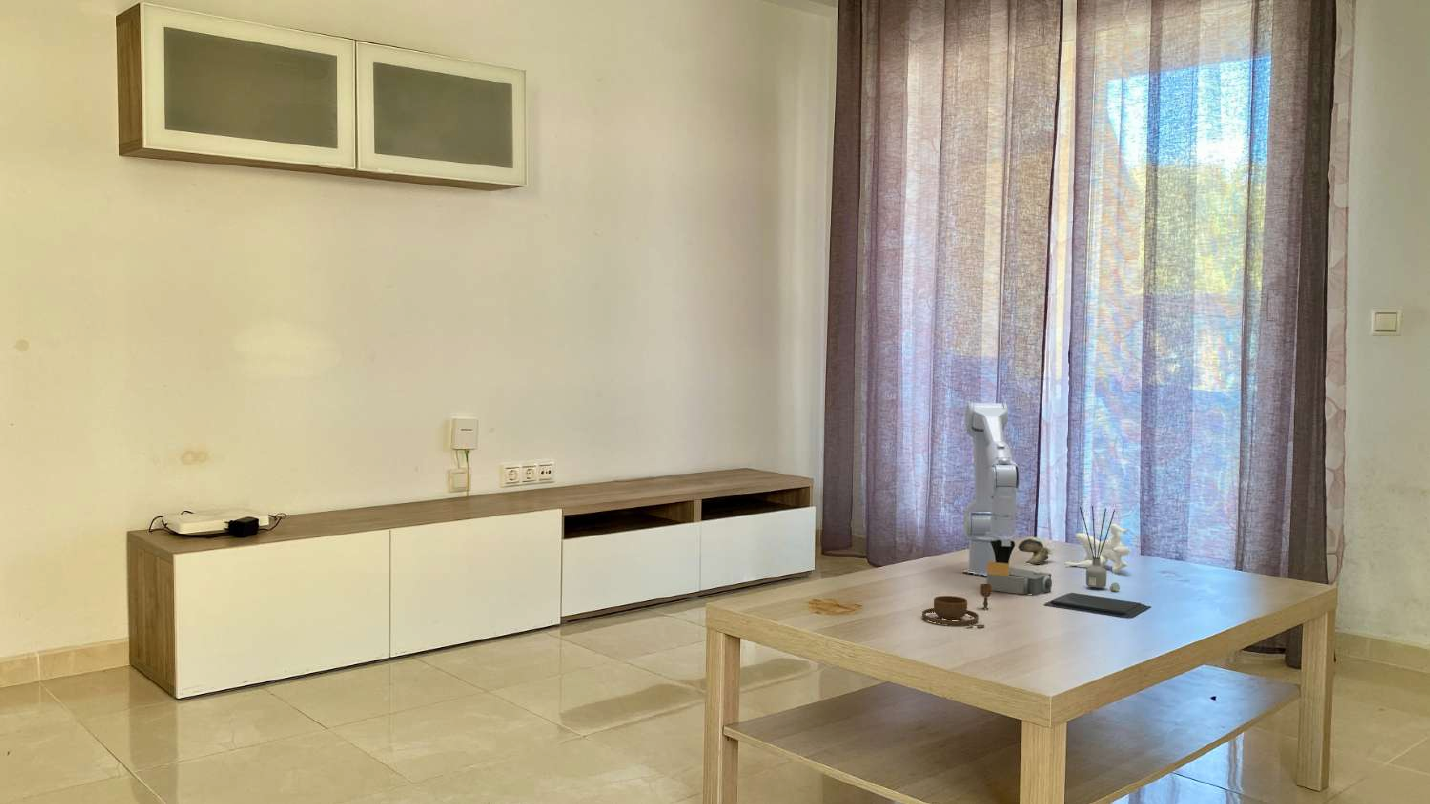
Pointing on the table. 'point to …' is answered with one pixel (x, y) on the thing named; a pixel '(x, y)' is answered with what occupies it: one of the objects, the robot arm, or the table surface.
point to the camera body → (1034, 580)
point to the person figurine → (1104, 549)
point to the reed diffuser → (1098, 563)
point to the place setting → (956, 609)
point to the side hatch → (1005, 579)
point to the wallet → (1098, 605)
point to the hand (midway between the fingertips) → (1002, 571)
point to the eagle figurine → (1036, 550)
